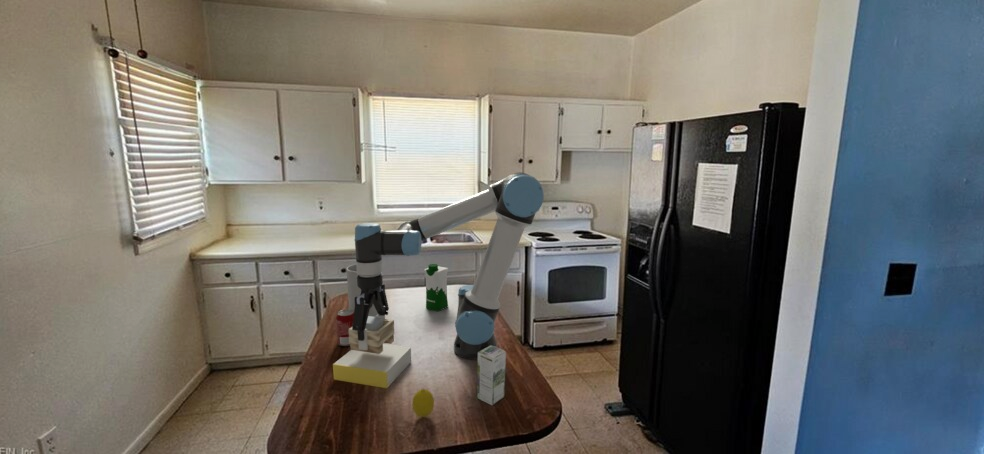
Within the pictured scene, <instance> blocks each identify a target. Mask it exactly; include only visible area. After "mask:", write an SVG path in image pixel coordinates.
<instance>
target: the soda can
mask: <svg viewBox="0 0 984 454" xmlns="http://www.w3.org/2000/svg"><path fill="white" fill-rule="evenodd" d="M353 318H354V310H351V309H349V308H348V309H347V308H345V309H341V310H340V311H338V312H337V315H336V317H335V321H336V322H335V323H336V334H337V336H336V337H337V344H338V346H342V347H350V343H349V330H348V329H349V328H351V327H352V326H353Z"/></svg>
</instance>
